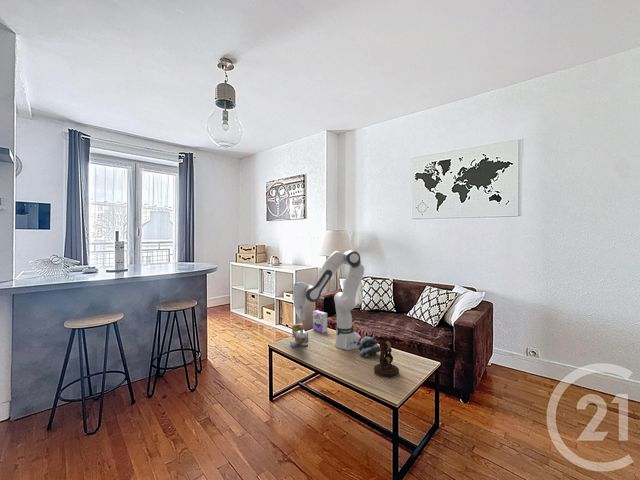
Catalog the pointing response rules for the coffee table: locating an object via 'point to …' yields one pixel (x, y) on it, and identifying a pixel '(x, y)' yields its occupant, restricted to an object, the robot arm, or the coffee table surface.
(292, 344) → the grey gold rectangular frame
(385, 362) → the brown statuette
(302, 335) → the rider
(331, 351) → the coffee table surface
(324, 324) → the candy box
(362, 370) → the coffee table surface
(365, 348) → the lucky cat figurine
